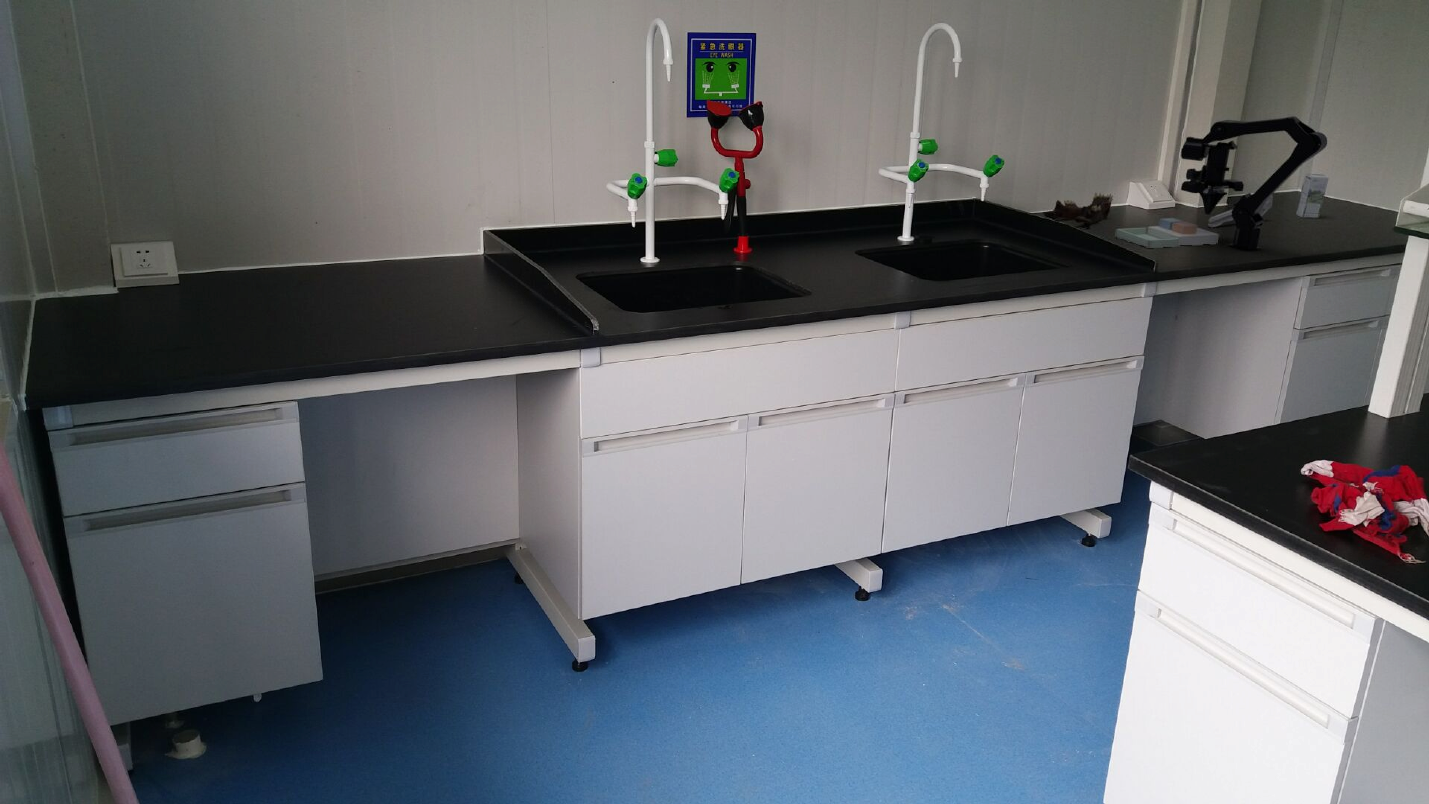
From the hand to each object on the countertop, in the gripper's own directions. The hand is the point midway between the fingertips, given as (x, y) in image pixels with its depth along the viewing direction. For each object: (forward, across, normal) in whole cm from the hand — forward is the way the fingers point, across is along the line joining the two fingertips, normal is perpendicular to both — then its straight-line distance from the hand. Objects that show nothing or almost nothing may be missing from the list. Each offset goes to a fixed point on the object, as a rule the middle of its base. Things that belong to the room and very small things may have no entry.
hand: (1207, 214), depth 334 cm
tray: (+8, +19, -2) cm, 21 cm away
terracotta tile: (+5, +8, 0) cm, 9 cm away
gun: (+9, -30, -19) cm, 37 cm away
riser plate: (+8, +6, -2) cm, 10 cm away
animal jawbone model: (+8, +20, -31) cm, 38 cm away
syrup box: (+9, -64, -24) cm, 69 cm away
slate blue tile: (+5, +8, -6) cm, 11 cm away
